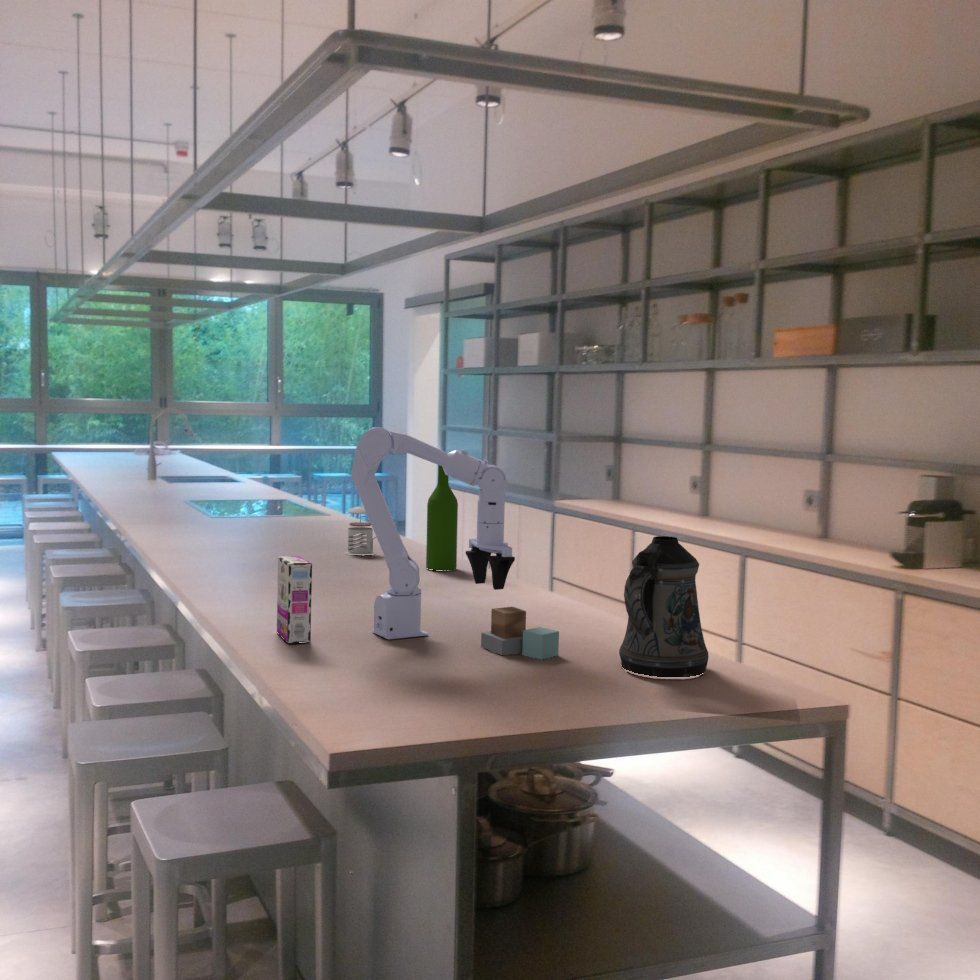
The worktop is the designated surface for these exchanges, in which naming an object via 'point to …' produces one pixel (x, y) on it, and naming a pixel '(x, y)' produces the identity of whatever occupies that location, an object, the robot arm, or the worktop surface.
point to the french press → (360, 529)
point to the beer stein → (663, 613)
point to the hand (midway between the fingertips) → (489, 586)
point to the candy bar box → (294, 599)
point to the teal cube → (540, 643)
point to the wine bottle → (442, 526)
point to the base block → (501, 643)
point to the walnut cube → (508, 622)
